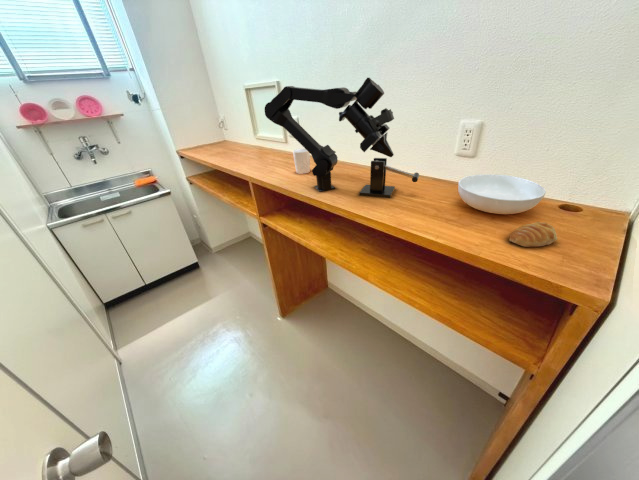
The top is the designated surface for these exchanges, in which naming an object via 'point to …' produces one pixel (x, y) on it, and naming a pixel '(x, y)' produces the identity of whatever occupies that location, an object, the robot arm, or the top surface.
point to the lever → (403, 173)
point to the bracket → (377, 181)
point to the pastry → (534, 235)
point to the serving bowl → (500, 193)
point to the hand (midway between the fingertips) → (392, 156)
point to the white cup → (301, 161)
